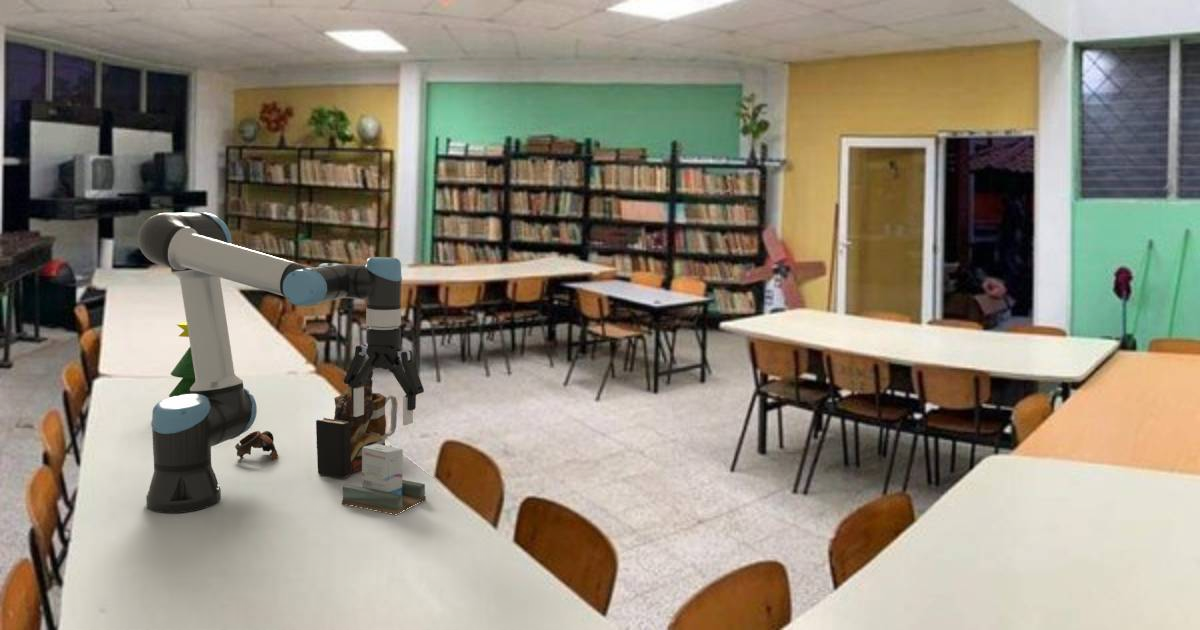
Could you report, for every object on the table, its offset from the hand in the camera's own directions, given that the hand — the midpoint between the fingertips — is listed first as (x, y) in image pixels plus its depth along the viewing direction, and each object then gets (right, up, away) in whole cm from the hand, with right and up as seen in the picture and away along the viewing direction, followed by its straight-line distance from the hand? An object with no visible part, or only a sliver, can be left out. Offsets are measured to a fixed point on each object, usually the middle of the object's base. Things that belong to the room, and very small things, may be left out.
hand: (382, 419), depth 202 cm
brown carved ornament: (-40, -14, +33) cm, 54 cm away
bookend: (-14, -16, +25) cm, 33 cm away
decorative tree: (-74, -7, +76) cm, 107 cm away
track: (0, -19, +3) cm, 19 cm away
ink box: (-1, -18, +3) cm, 19 cm away
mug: (-14, -13, +44) cm, 48 cm away
